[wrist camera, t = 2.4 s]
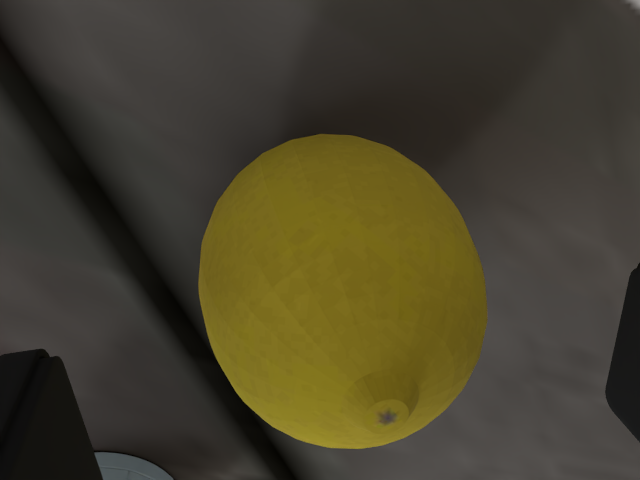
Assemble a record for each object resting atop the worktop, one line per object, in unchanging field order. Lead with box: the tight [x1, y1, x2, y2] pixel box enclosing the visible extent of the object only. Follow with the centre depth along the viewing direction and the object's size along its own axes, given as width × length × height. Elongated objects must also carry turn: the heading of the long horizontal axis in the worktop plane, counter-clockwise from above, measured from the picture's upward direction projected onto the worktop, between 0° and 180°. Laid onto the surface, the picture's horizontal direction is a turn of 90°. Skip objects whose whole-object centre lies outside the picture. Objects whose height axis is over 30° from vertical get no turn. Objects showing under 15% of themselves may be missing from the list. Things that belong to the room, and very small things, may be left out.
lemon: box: [198, 134, 487, 449], centre depth 12 cm, size 6×6×8 cm
